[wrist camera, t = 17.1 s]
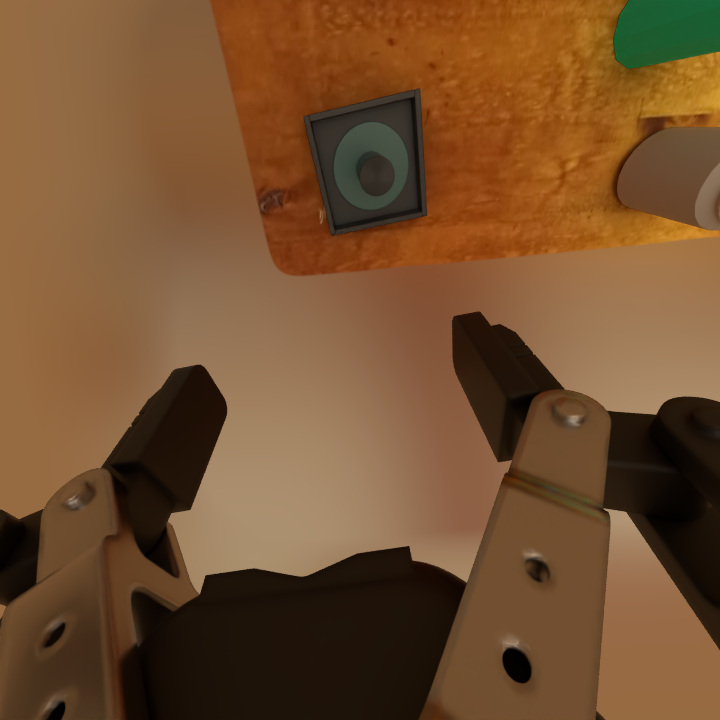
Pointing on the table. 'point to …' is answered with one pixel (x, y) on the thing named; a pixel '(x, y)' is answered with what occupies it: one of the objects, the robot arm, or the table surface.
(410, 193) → the square tray
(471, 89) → the table surface
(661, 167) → the can
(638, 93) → the table surface
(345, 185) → the pan lid
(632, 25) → the candle
